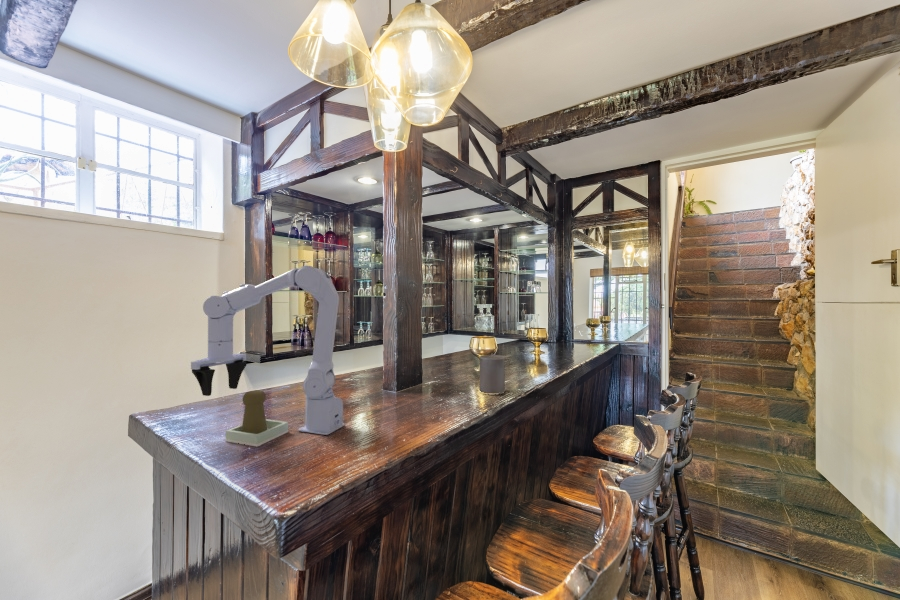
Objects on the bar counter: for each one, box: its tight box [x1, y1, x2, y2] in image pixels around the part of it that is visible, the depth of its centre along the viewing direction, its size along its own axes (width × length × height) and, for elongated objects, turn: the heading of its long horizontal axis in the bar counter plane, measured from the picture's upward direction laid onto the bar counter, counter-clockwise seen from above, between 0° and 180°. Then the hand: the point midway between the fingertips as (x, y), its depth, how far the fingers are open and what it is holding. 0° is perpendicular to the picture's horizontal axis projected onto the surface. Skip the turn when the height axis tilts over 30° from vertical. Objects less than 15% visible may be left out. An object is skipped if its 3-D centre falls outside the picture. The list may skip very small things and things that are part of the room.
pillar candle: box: [478, 354, 506, 393], centre depth 136 cm, size 10×10×15 cm
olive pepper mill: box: [241, 389, 267, 434], centre depth 91 cm, size 6×6×11 cm
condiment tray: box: [225, 418, 289, 448], centre depth 91 cm, size 10×10×3 cm
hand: (220, 391), depth 95 cm, fingers open, 7 cm apart
